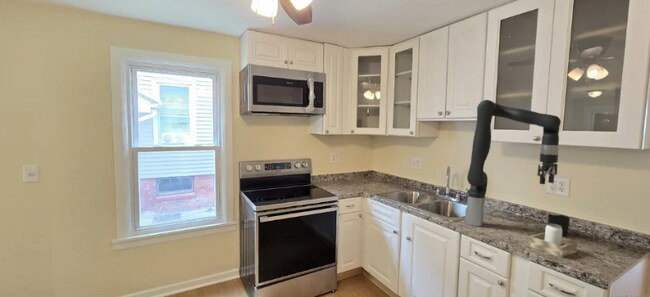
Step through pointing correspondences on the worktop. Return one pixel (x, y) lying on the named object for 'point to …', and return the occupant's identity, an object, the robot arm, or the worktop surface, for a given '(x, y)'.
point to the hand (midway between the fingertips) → (546, 183)
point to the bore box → (553, 245)
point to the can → (553, 234)
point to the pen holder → (560, 222)
